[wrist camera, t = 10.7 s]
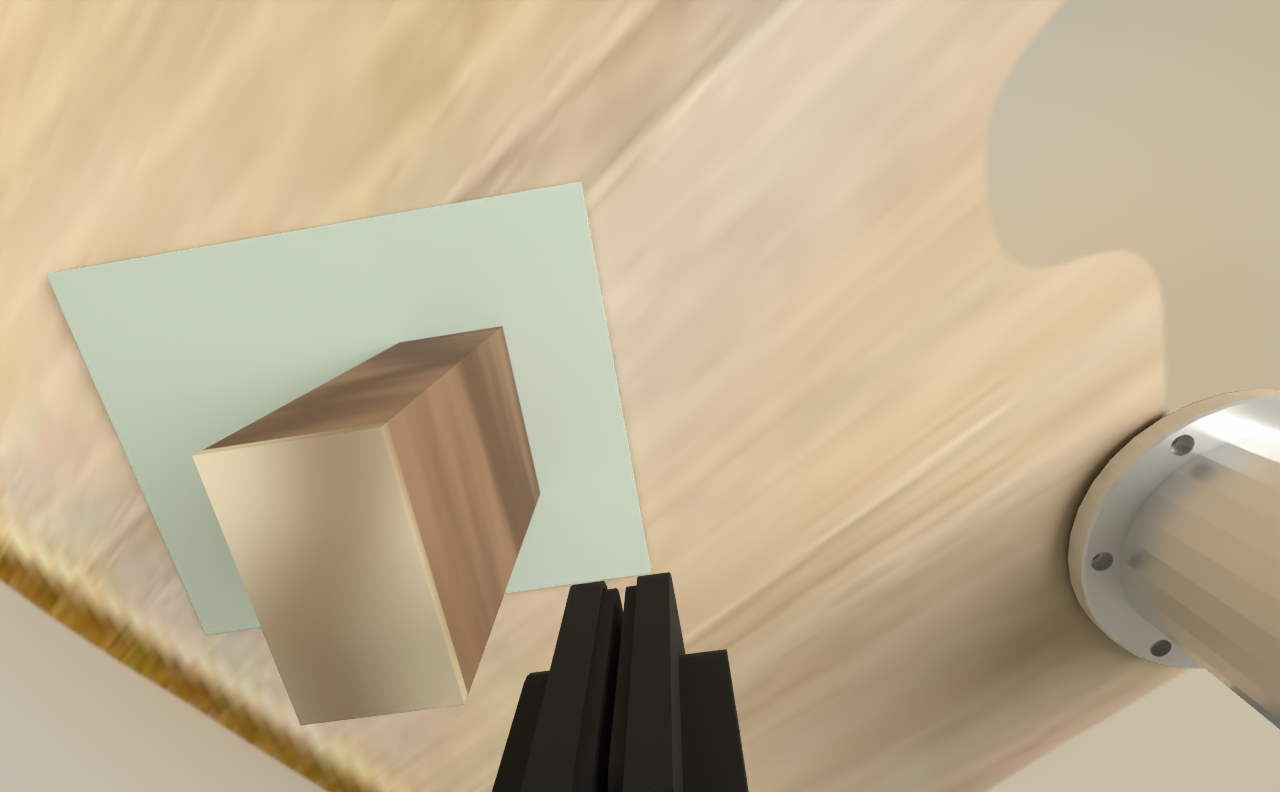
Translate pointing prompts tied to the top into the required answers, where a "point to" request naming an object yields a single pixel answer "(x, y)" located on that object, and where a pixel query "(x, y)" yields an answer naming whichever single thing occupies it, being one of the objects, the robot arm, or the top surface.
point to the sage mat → (349, 335)
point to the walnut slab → (381, 524)
